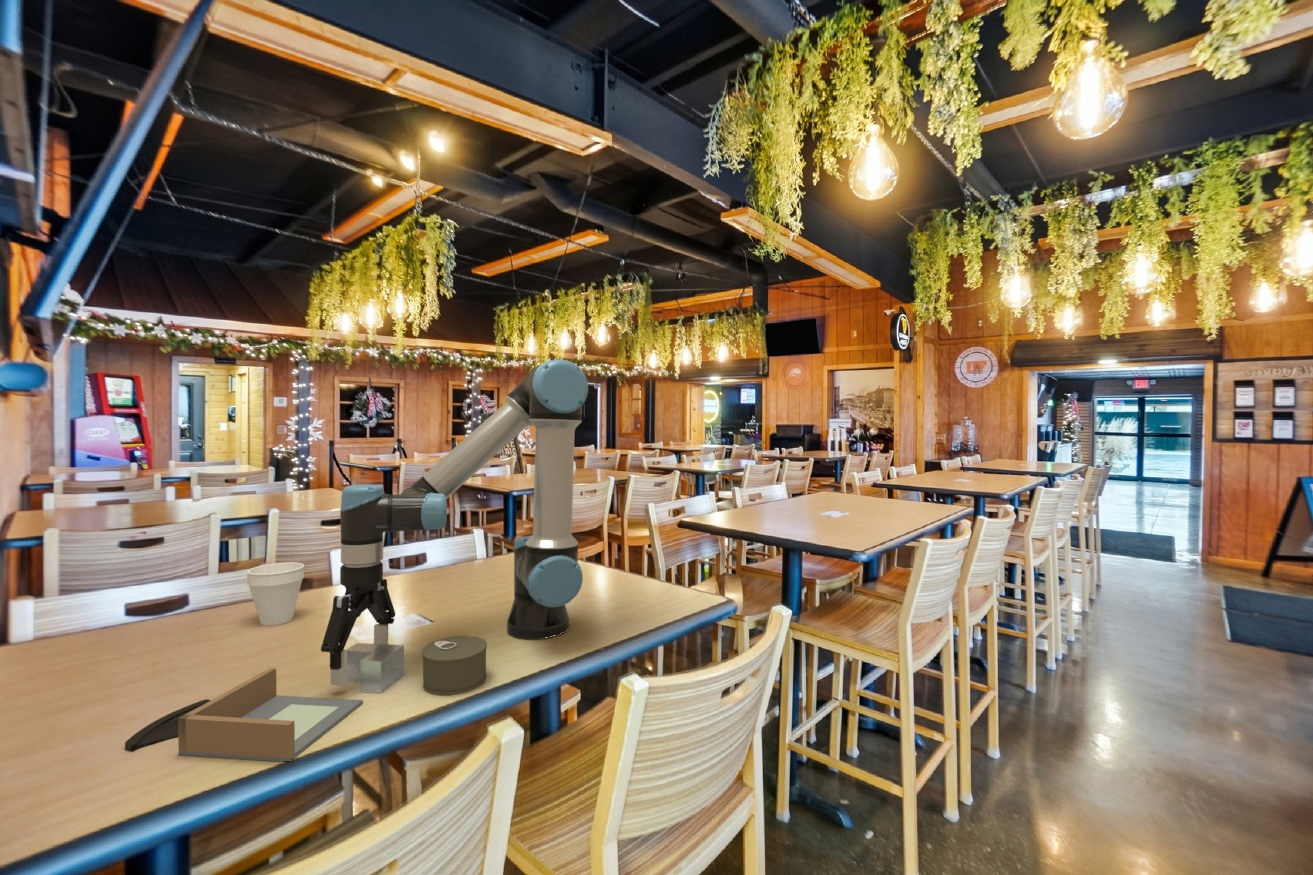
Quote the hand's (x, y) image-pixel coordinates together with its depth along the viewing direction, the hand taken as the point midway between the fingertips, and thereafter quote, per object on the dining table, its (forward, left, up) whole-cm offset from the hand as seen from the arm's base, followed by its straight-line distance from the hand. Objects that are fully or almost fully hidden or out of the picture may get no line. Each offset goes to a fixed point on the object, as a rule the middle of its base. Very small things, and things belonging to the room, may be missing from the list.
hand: (361, 669), depth 113 cm
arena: (+2, +19, -2) cm, 19 cm away
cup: (+41, -28, -2) cm, 50 cm away
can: (-19, 0, -2) cm, 19 cm away
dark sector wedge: (+19, +20, -2) cm, 28 cm away
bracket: (-3, +2, -2) cm, 4 cm away
